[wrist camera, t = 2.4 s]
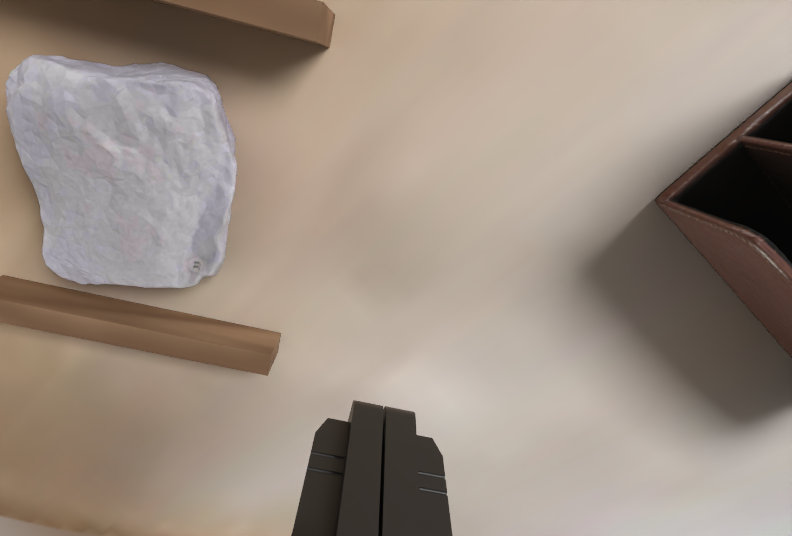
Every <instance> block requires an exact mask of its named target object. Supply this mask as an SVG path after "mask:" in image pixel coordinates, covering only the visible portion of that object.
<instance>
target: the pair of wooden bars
mask: <svg viewBox="0 0 792 536" xmlns="http://www.w3.org/2000/svg"><path fill="white" fill-rule="evenodd" d="M153 1H157V2H161V3H164V4H168V5H172V6H176V7H179V8H183V9H187V10H191V11H194V12H198V13H202V14H206V15H209V16H213V17H217V18H220V19H224V20H228V21H232V22H235V23H239V24H243V25H247V26H250V27H254V28H258V29H262V30H265V31H269V32H273V33H277V34H280V35H284V36H288V37H292V38H295V39H299V40H303V41H307V42H310V43H314V44H318V45H322V46H325V47H329V48H330V42H331V36H332V30H333V24H334V19H335V14H334V13H333V12H332V11H331V10H330V9H329V8H328V7H327V6H326V5H325V4H324V3H323V2H321V1H317V0H153ZM0 322H2V323H7V324H12V325H17V326H22V327H27V328H32V329H37V330H42V331H47V332H52V333H57V334H62V335H67V336H72V337H77V338H82V339H87V340H92V341H97V342H102V343H107V344H112V345H117V346H122V347H127V348H132V349H137V350H142V351H147V352H152V353H157V354H162V355H167V356H172V357H177V358H182V359H187V360H192V361H197V362H202V363H207V364H212V365H217V366H222V367H227V368H232V369H237V370H242V371H247V372H252V373H257V374H262V375H267V376H268V374H269V371H270V369H271V367H272V364H273V362H274V360H275V358H276V355H277V353H278V348H279V342H280V336H281V333H277V332H273V331H268V330H263V329H258V328H253V327H249V326H244V325H239V324H234V323H229V322H225V321H220V320H215V319H210V318H205V317H201V316H196V315H191V314H186V313H181V312H177V311H172V310H167V309H162V308H157V307H153V306H148V305H143V304H138V303H133V302H129V301H124V300H119V299H114V298H109V297H105V296H100V295H95V294H90V293H85V292H81V291H76V290H71V289H66V288H61V287H57V286H52V285H47V284H42V283H37V282H33V281H28V280H23V279H18V278H13V277H9V276H4V275H2V276H0Z"/></svg>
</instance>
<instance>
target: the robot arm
mask: <svg viewBox="0 0 792 536" xmlns="http://www.w3.org/2000/svg"><path fill="white" fill-rule="evenodd" d="M446 494H447V488H446V480H445V472H444V463H443V456H442V454H441V453H440V451H439V449H438V447H437V446H436V444H435V442H434V440H433V439H432V438H429V437H424V436H418V435H416V419H415V413H414V412H411V411H406V410H401V409H396V408H391V407H386V406H385V407H384V409H383V406H380V405H375V404H370V403H365V402H360V401H355V400H354V401H353V404H352V408H351V411H350V415H349V419H348V422H346V421H340V420H335V419H330V418H328V419H327V420H326V421H325V422H324V423H323V424H322V426H321V427H320V428H319V429H318V430H317V431H316V433H315V437H314V441H313V446H312V450H311V454H310V459H309V463H308V467H307V472H306V476H305V480H304V485H303V489H302V493H301V498H300V502H299V506H298V511H297V515H296V519H295V524H294V528H293V532H292V535H291V536H452V529H451V521H450V513H449V505H448V496H447V495H446Z"/></svg>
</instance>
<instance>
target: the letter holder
mask: <svg viewBox="0 0 792 536" xmlns="http://www.w3.org/2000/svg"><path fill="white" fill-rule="evenodd" d="M655 201H656V202H657V204H658V205H659V206H660V207H661V208H662V209H663V211H664V212H665V213H666V214H667V215H668V216H669V217H670V219H671V220H672V221H673V222H674V223H675V224H676V225H677V227H678V228H679V229H680V230H681V231H682V232H683V234H684V235H685V236H686V237H687V238H688V239H689V240H690V241H691V243H692V244H693V245H694V246H695V247H696V248H697V250H699V252H700V253H701V254H702V255H703V256H704V257H705V259H706V260H707V261H708V262H709V264H711V265H712V267H713V268H714V269H715V270H716V271H717V273H718V274H719V275H720V276H721V277H722V278H723V279H724V281H725V282H726V283H727V284H728V285H729V286H730V287H731V288H732V289H733V291H734V292H735V293H736V294H737V295H738V296H739V298H740V299H741V300H742V301H743V302H744V304H746V306H747V307H748V308H749V309H750V310H751V311H752V313H753V314H754V315H755V316H756V317H757V319H758V320H759V321H760V322H761V323H762V324H763V325H764V326H765V327H766V328H767V330H768V331H769V332H770V333H771V334H772V335H773V336H774V338H775V339H776V340H777V342H778V343H779V344H780V345H781V346H782V347H783V348H784V349H785V350H786V351H787V352H788V354H789V355H790V356H791V357H792V82H791V83H790V84H789V85H788V86H786V87H785V88H784V89H783V90H782V91H780V92H779V93H778V94H777V95H776V96H775V97H774V98H772V99H771V100H770V101H768V102H767V103H766V104H765V105H764V106H763V107H761V108H760V109H759V110H758V111H757V112H756V113H755V114H754V115H752V116H751V117H750V118H749V119H748V120H746V121H745V122H744V123H743V124H742V125H741V126H739V127H738V128H737V129H736V130H735V131H734V132H732V133H731V134H730V135H729V136H728V137H727V138H726V139H725V140H723V141H722V142H721V143H719V144H718V145H717V146H716V147H715V148H714V149H712V150H711V151H710V152H709V153H708V154H707V155H706V156H705V157H703V158H702V159H701V160H700V161H699V162H697V164H695V165H694V166H693V167H692V168H691V169H689V170H688V171H687V172H686V173H684V174H683V175H682V176H681V177H680V178H679V179H678V180H677V181H676V182H674V183H673V184H672V185H671V186H670V187H668V188H667V189H666V190H665V191H664V192H663V193H662V194H660V195H659V196H658V197H657V199H656V200H655Z"/></svg>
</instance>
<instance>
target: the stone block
mask: <svg viewBox="0 0 792 536" xmlns="http://www.w3.org/2000/svg"><path fill="white" fill-rule="evenodd" d="M6 96H7V108H6V112H7V116H8V120H9V123H10V129H11V132H12V135H13V137H14V140H15V144H16V149H17V151H18V154H19V156H20V159H21V162H22V165H23V167H24V169H25V171H26V173H27V175H28V177H29V179H30V181H31V182H32V184H33V187H34V189H35V192H36V194H37V197H38V200H39V204H40V215H41V220H42V223H43V226H44V235H43V245H42V254H43V258H44V261H45V263H46V266H47V267H49V268H50V269H51V270H52V271H53V272H55V273H56V274H57V275H59V276H60V277H62V278H65V279H68V280H71V281H74V282H77V283H80V284H88V283H90V284H96V285H98V284H116V285H125V286H139V287H145V288H150V287H156V288H184V287H191V286H194V285H197V284H199V282H200V281H201V280H202V279H203V278H205V277H210V276H215V275H216V274H217V273H218V271H219V269H220V268H221V267H222V265H223V262H224V260H225V259H224V258H225V252H226V244H227V233H228V225H229V222H230V219H231V205H232V200H233V196H234V194H235V181H236V173H237V164H236V159H235V155H234V154H235V151H236V150H235V136H234V134H233V131H232V129H231V126H230V124H229V121H228V119H227V117H226V114H225V111H224V108H223V103H222V99H221V96H220V94H219V91H218V88H217V86H216V84H215V83H214V82H212V81H211V79H210V78H209V77H208V76H207V75H204V74H201V73H199V72H195V71H189V70H186V69H183V68H180V67H178V66H176V65H173V64H167V63H164V62H159V63H150V64H140V65H139V64H137V63H134V64H131V65H126V66H122V67H120V66H111V65H107V64H103V63H95V62H89V61H83V60H75V59H68V58H66V57H63V56H43V55H32V56H29V57H28V58H26V59H25V60H23V61H22V63H21V64H20V65H18V66H17V67H16V68H15V69H14V70H12V71H11V73H10V75H9V78H8V80H7V81H6Z"/></svg>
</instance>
